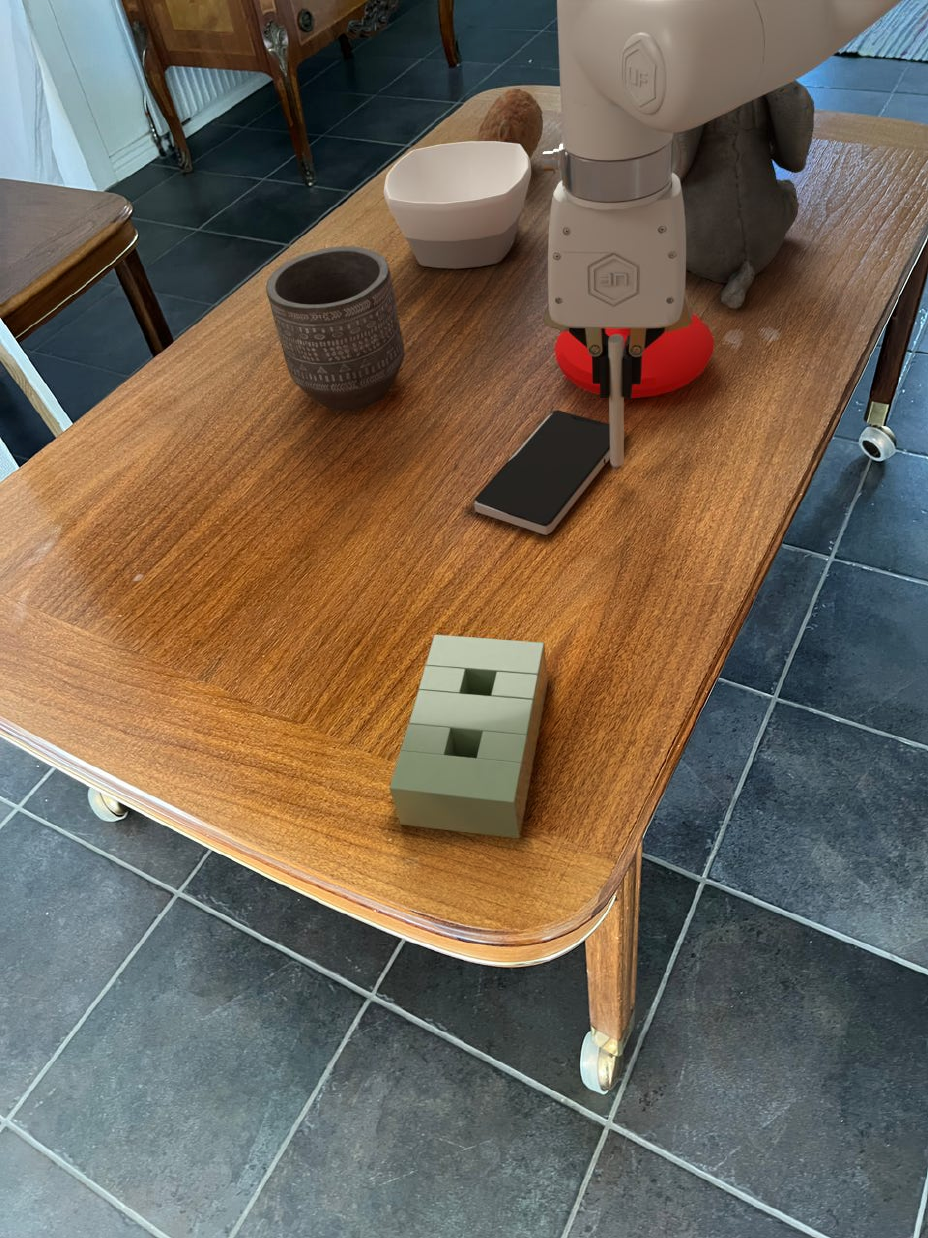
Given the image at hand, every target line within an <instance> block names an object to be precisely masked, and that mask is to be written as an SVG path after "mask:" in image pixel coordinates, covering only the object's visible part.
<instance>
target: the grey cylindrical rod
mask: <svg viewBox="0 0 928 1238" xmlns="http://www.w3.org/2000/svg"><path fill="white" fill-rule="evenodd" d="M608 356H609V397H608V406H609V407H608V409H609V410H608V412H609V413H608V415H609V416H608V417H609V418H608V419H609V424H610V459H609V462H610V465H611V467H612V469H613V470H615V471H619V470H621V469H622V467H623V464H624V462H625V447H624V446H625V413H624V412H625V401H624V400H625V399H624V397H622V358H623V356H624V338H623V336H621V335H618V334H615V335H612V336H610V337H609V339H608Z"/></svg>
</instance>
